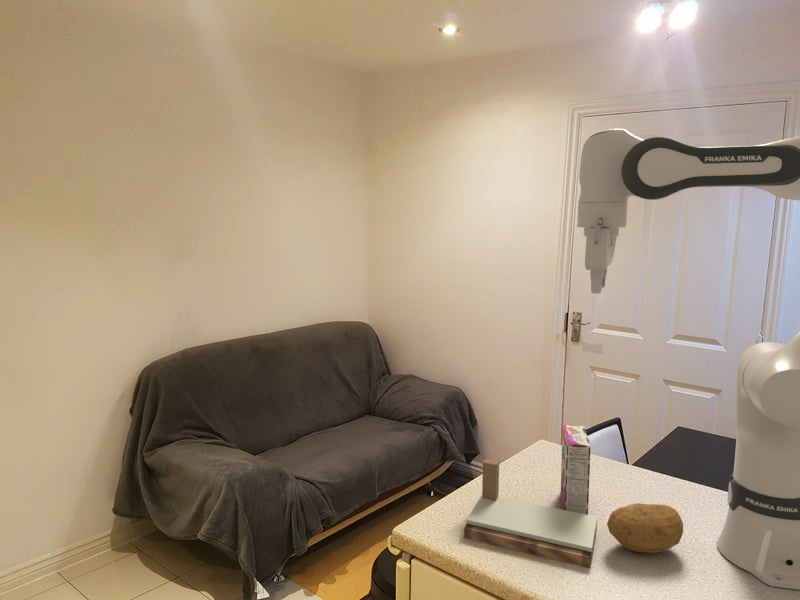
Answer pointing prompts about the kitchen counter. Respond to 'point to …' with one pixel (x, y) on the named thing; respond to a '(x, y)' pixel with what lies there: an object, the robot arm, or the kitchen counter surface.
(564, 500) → the candy bar box
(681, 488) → the kitchen counter surface
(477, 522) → the lid
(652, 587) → the kitchen counter surface
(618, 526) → the potato
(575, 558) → the frame
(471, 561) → the kitchen counter surface
